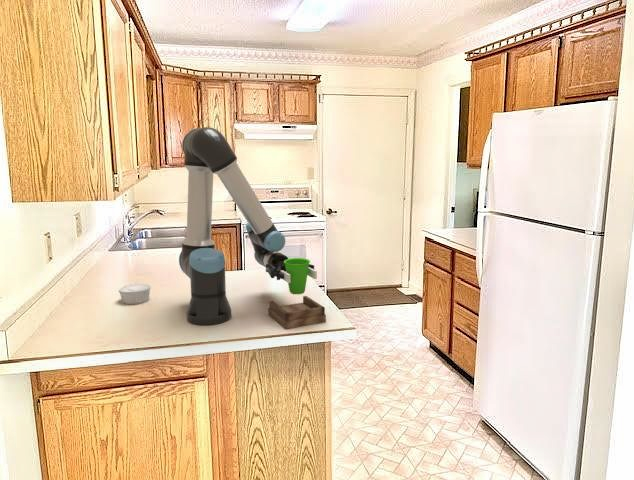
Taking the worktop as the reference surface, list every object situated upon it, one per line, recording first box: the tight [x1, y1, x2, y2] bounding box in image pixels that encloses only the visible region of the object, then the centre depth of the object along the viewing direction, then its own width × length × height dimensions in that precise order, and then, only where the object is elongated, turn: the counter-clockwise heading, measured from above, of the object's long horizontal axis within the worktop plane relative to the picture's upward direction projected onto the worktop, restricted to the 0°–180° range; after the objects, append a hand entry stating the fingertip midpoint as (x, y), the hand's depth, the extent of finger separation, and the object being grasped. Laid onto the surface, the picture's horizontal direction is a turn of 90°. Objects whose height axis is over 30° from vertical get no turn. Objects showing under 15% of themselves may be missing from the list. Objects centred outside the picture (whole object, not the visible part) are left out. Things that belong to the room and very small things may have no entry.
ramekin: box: [118, 283, 151, 305], centre depth 179 cm, size 11×11×5 cm
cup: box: [284, 257, 311, 295], centre depth 159 cm, size 9×9×11 cm
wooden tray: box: [267, 295, 327, 330], centre depth 161 cm, size 15×15×5 cm
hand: (302, 277), depth 155 cm, fingers closed on cup, 9 cm apart
